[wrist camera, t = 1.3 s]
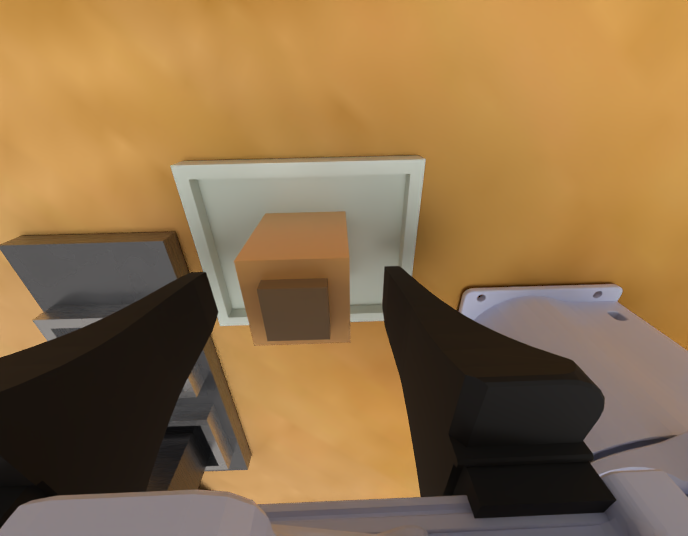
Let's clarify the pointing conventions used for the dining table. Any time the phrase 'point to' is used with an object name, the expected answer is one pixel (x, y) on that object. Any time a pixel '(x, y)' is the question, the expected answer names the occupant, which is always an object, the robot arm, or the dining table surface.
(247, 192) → the tray
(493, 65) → the dining table surface
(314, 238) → the plug
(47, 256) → the pdu strip
